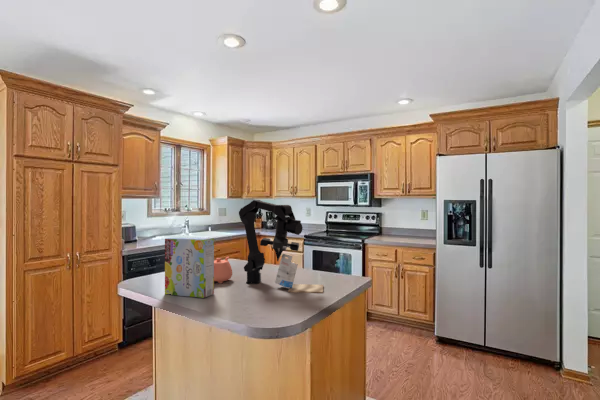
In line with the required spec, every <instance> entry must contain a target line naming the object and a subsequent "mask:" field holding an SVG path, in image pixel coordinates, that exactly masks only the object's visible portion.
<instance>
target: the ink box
mask: <svg viewBox="0 0 600 400" xmlns="http://www.w3.org/2000/svg"><path fill="white" fill-rule="evenodd" d="M280 258H281V259H280V262H279V265H278V269H277V272H276V277H275V279H274V283H275V284H276V285H279V286H281V287H283V288H292V286H293V284H294V281H295V277H296V273H297V269H298V264H297V263H295V262H292V261H293V256H292V255H289V254H286V253H282V254H281V257H280Z"/></svg>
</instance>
